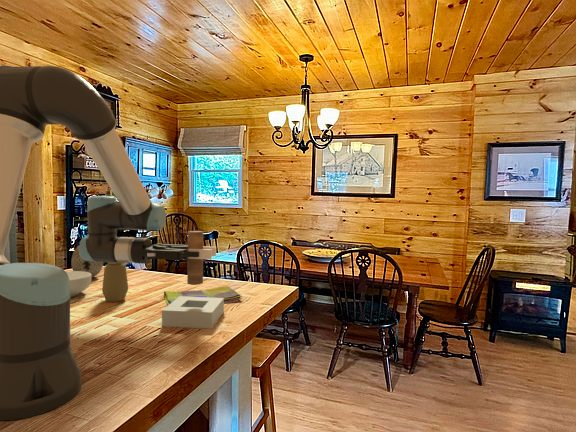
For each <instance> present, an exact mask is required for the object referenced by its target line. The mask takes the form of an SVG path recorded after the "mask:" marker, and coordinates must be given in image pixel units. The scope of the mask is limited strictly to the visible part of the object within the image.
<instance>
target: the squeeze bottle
mask: <svg viewBox="0 0 576 432" xmlns="http://www.w3.org/2000/svg"><path fill="white" fill-rule="evenodd" d="M128 283H129V282H128V274H127V266H126V265H124V262H122V263H117V262H107V264H105V266H104V270H103V279H102V288H101V292H102V294H103V297H104V299H105V301H106V302H108V303H115V302H116V303H117V302H121V301H124V300H125V299H126V296H127V293H128V290H129V284H128Z"/></svg>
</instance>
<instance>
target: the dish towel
mask: <svg viewBox="0 0 576 432" xmlns="http://www.w3.org/2000/svg"><path fill="white" fill-rule="evenodd" d="M179 296H185V297H210V298H224V305H225V304H226V305H227V304H233V303H238V302H239V300H241V299H242V297H243V295H241V294H240V293H238V292H237V291H236V290H234V289H232V287H230V286H228V285H223V286H218V287H213V288H209V289H208V288H206V289H198V290H180V291H179V290H178V291H175V290H172V291H171V290H168V291H167V290H164V292H163V297H164V300H165V303H166V305H167V306H168V305H169V304H171V303H172V302H173V301H174V300H176V299H177V298H178V297H179Z"/></svg>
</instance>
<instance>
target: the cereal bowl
mask: <svg viewBox="0 0 576 432" xmlns="http://www.w3.org/2000/svg"><path fill="white" fill-rule="evenodd" d="M65 272H66V273H67V275H68V277H69V287H70V290H71V297H72V298H73V297H75V296H77V295H78V294H80V293H82V292H84V291H85V290H87V289H88V288H89V286H90V285H91V283H92V278H93V277H92V276H91V273H89V272H83V271H73V270H72V271H68V270H67V271H65ZM91 277H92V278H91ZM71 297H70V298H71Z"/></svg>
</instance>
